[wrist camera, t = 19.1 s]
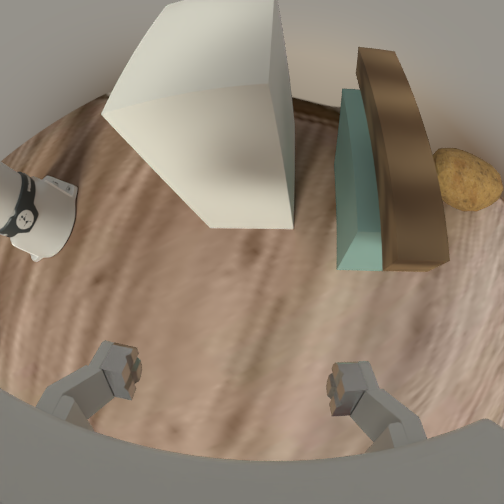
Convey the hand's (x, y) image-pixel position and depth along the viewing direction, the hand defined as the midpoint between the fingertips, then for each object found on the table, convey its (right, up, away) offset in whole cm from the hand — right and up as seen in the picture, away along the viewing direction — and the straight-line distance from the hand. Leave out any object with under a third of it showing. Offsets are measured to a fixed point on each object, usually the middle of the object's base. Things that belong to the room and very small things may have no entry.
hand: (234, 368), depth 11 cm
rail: (+13, +14, +11) cm, 22 cm away
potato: (+33, +14, +25) cm, 44 cm away
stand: (+1, +17, +31) cm, 35 cm away
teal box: (+16, +10, +27) cm, 33 cm away
